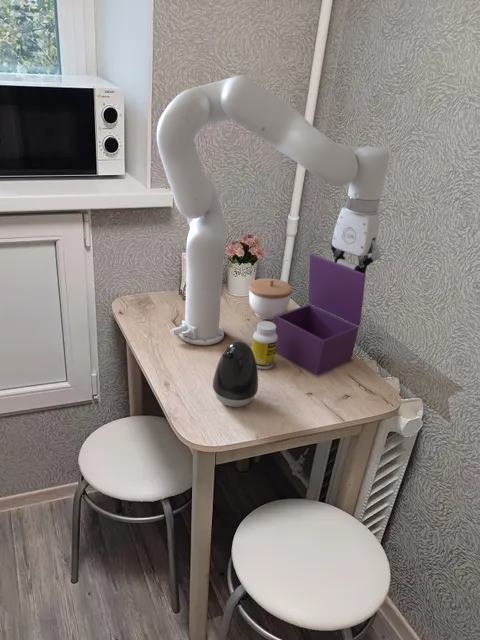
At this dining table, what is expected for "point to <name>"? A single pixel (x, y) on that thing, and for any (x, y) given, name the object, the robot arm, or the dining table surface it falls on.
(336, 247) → the robot arm
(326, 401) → the dining table surface
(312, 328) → the box
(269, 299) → the lidded bowl
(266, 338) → the pill bottle
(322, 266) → the file box lid
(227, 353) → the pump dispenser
